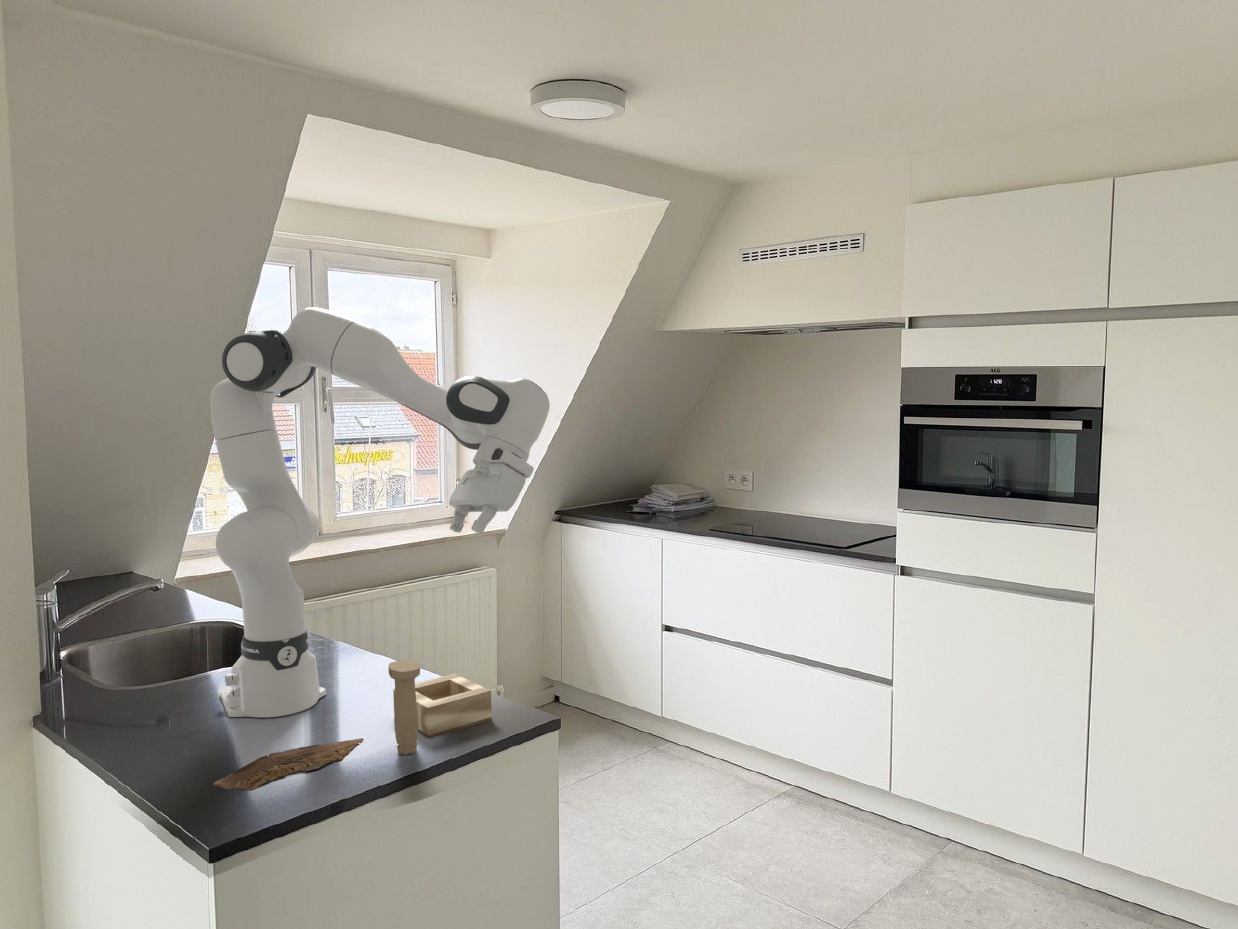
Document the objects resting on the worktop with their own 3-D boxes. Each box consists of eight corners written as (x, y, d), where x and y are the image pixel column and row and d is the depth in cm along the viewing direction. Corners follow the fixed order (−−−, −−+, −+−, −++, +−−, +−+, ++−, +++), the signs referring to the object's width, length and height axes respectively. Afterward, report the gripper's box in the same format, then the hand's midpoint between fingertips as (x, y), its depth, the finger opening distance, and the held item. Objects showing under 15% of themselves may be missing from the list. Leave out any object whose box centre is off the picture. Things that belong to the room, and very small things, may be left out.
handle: (400, 761, 153) (397, 673, 151) (387, 748, 158) (383, 663, 156) (427, 754, 155) (425, 668, 154) (414, 742, 161) (411, 658, 159)
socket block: (394, 718, 172) (393, 689, 171) (455, 701, 180) (454, 673, 180) (428, 738, 162) (427, 707, 161) (491, 720, 170) (491, 690, 170)
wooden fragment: (226, 800, 140) (226, 793, 140) (202, 777, 148) (202, 771, 148) (381, 752, 157) (381, 746, 157) (352, 734, 166) (352, 728, 165)
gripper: (461, 457, 174) (427, 522, 170) (509, 450, 157) (474, 523, 153) (488, 473, 177) (456, 538, 172) (538, 469, 160) (504, 540, 155)
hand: (465, 531), depth 162 cm, fingers open, 8 cm apart
